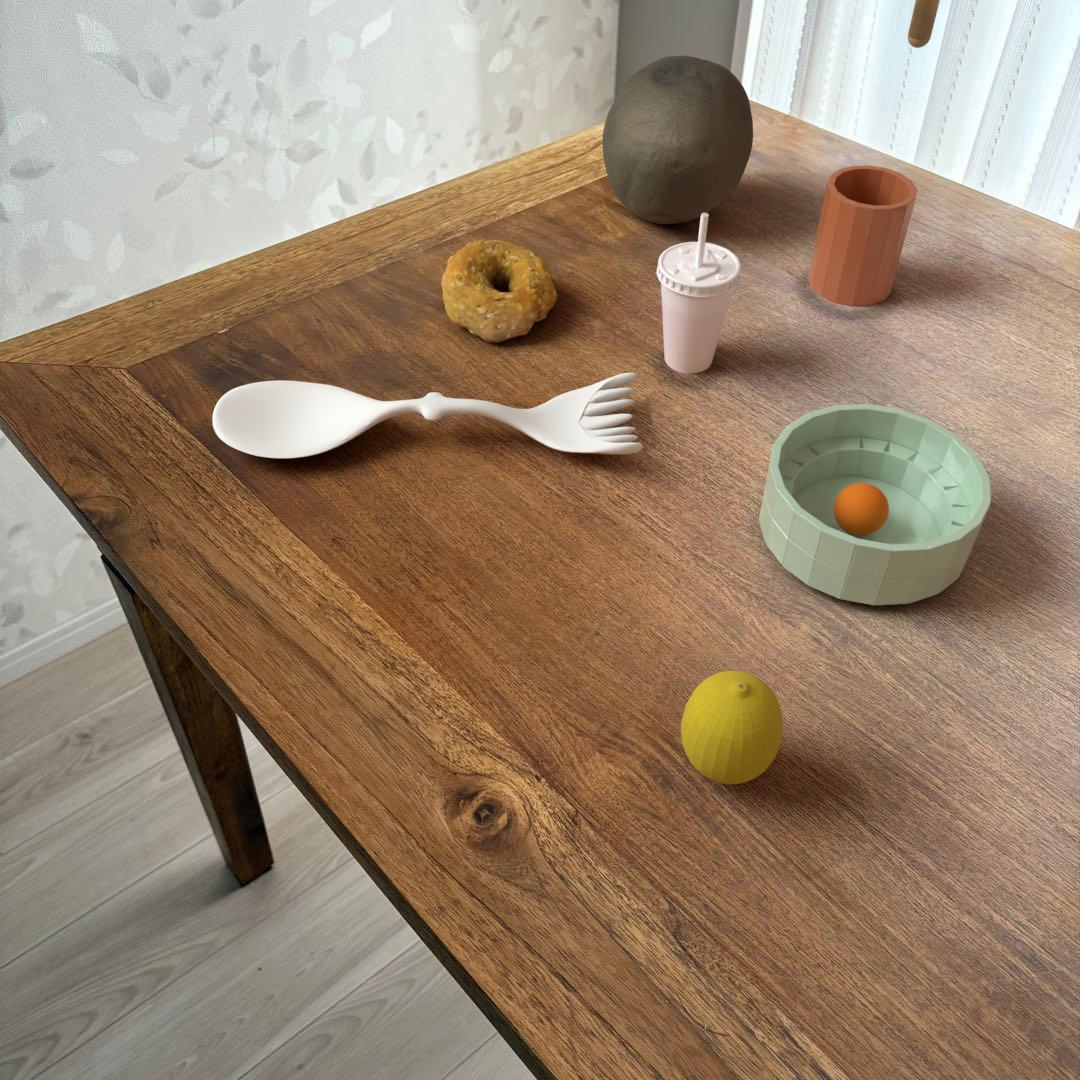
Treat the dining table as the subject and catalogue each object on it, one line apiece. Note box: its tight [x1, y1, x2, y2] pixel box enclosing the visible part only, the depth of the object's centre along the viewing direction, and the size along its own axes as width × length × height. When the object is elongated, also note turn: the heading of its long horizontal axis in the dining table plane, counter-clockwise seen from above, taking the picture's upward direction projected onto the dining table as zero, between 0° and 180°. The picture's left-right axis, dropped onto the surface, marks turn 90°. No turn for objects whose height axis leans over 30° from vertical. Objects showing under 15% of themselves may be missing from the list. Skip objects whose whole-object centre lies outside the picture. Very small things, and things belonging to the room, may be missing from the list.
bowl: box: [758, 403, 992, 606], centre depth 75 cm, size 14×14×6 cm
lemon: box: [680, 670, 784, 785], centre depth 62 cm, size 6×6×8 cm
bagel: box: [440, 238, 558, 344], centre depth 95 cm, size 10×11×5 cm
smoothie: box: [656, 213, 742, 374], centre depth 86 cm, size 6×6×14 cm
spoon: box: [211, 372, 644, 460], centre depth 84 cm, size 9×32×4 cm, turn 89°
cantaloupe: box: [602, 55, 754, 225], centre depth 102 cm, size 14×14×15 cm
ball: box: [834, 483, 889, 536], centre depth 76 cm, size 4×4×4 cm
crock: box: [807, 164, 918, 307], centre depth 95 cm, size 7×7×10 cm
